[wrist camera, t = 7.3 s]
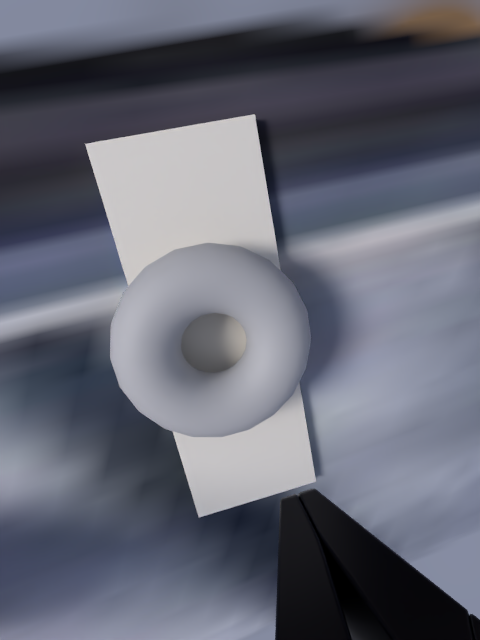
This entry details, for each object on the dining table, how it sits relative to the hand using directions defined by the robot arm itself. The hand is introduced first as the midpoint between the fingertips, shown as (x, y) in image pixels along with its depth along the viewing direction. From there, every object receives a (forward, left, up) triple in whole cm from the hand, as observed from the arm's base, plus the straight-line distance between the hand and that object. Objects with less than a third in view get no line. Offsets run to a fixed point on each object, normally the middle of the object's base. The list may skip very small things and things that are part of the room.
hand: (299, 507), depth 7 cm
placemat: (0, 0, -12) cm, 12 cm away
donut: (-6, 0, -10) cm, 11 cm away
